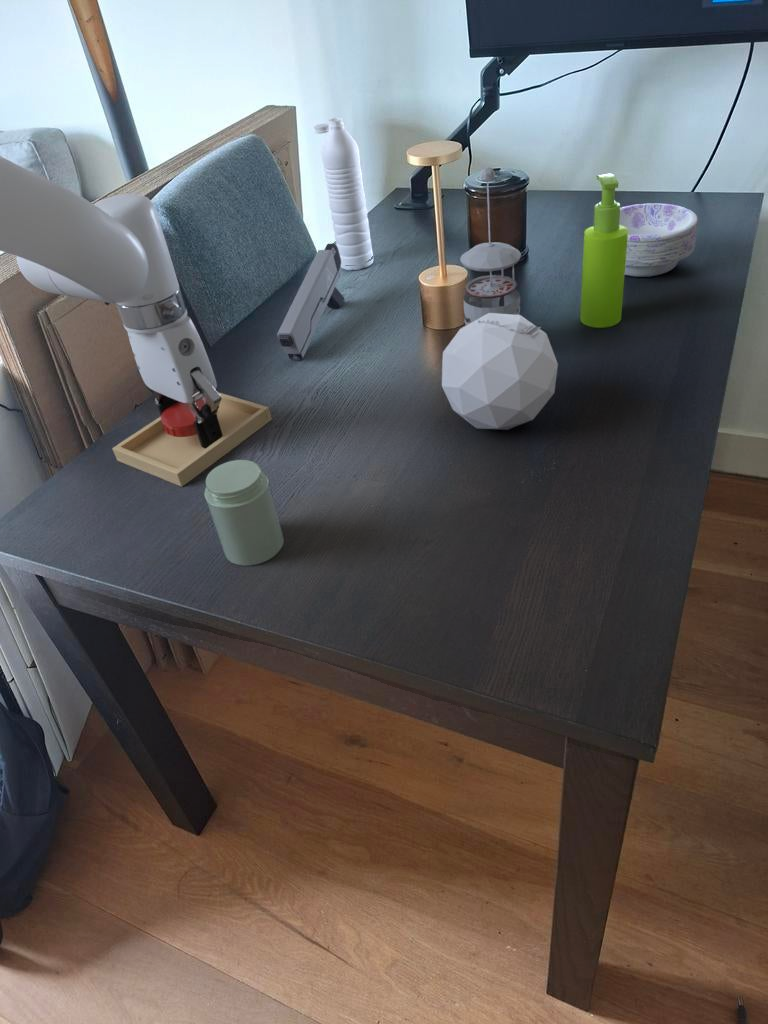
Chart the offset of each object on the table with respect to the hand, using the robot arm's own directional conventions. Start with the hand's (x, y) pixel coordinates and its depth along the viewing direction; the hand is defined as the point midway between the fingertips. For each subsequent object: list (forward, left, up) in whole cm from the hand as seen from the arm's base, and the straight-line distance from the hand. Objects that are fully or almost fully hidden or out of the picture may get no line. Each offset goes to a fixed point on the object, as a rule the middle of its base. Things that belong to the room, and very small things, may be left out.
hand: (194, 433), depth 100 cm
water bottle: (+56, +16, -1) cm, 58 cm away
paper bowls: (+72, -33, -1) cm, 79 cm away
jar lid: (0, 0, +3) cm, 3 cm away
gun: (+32, +5, -1) cm, 33 cm away
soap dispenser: (+52, -34, -1) cm, 62 cm away
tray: (0, 0, -1) cm, 1 cm away
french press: (+38, -24, -1) cm, 45 cm away
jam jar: (-12, -22, -1) cm, 25 cm away
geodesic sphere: (+21, -34, -1) cm, 40 cm away
